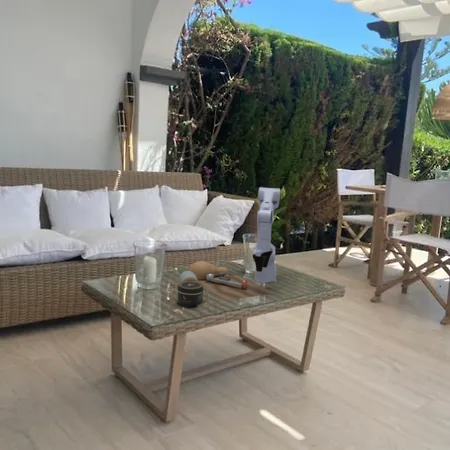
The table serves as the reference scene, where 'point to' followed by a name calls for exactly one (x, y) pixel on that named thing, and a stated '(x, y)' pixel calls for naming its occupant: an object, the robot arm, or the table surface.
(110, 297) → the table surface
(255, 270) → the robot arm
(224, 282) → the lever
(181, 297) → the jar
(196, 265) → the squash
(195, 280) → the ceramic mug
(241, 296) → the board
